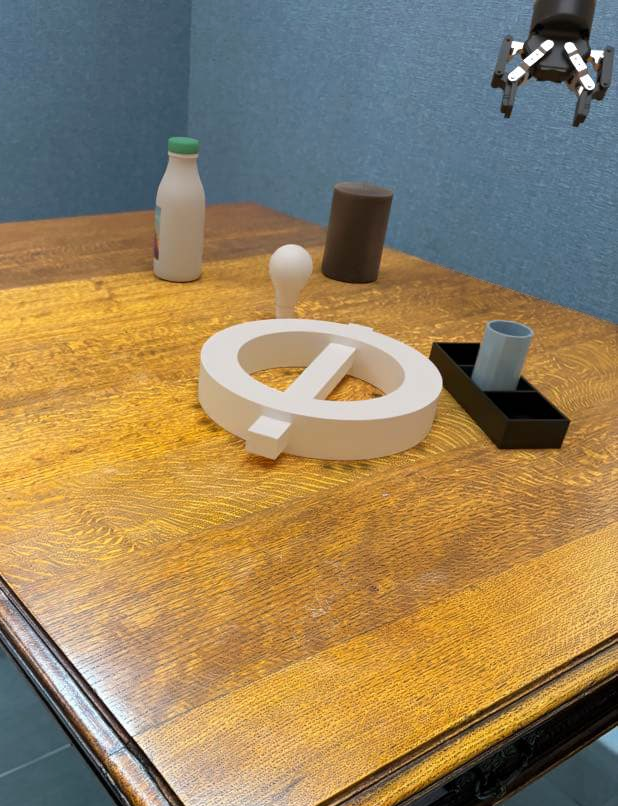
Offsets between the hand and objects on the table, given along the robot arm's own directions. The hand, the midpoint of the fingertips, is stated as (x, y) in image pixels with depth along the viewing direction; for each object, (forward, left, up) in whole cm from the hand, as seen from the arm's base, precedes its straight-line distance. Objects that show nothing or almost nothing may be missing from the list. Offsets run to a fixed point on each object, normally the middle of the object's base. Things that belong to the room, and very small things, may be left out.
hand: (542, 118), depth 103 cm
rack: (+9, +23, -29) cm, 38 cm away
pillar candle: (+12, -26, -29) cm, 41 cm away
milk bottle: (+42, -23, -29) cm, 56 cm away
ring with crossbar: (+31, +22, -29) cm, 48 cm away
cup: (+10, +23, -28) cm, 37 cm away
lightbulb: (+29, -3, -29) cm, 41 cm away
